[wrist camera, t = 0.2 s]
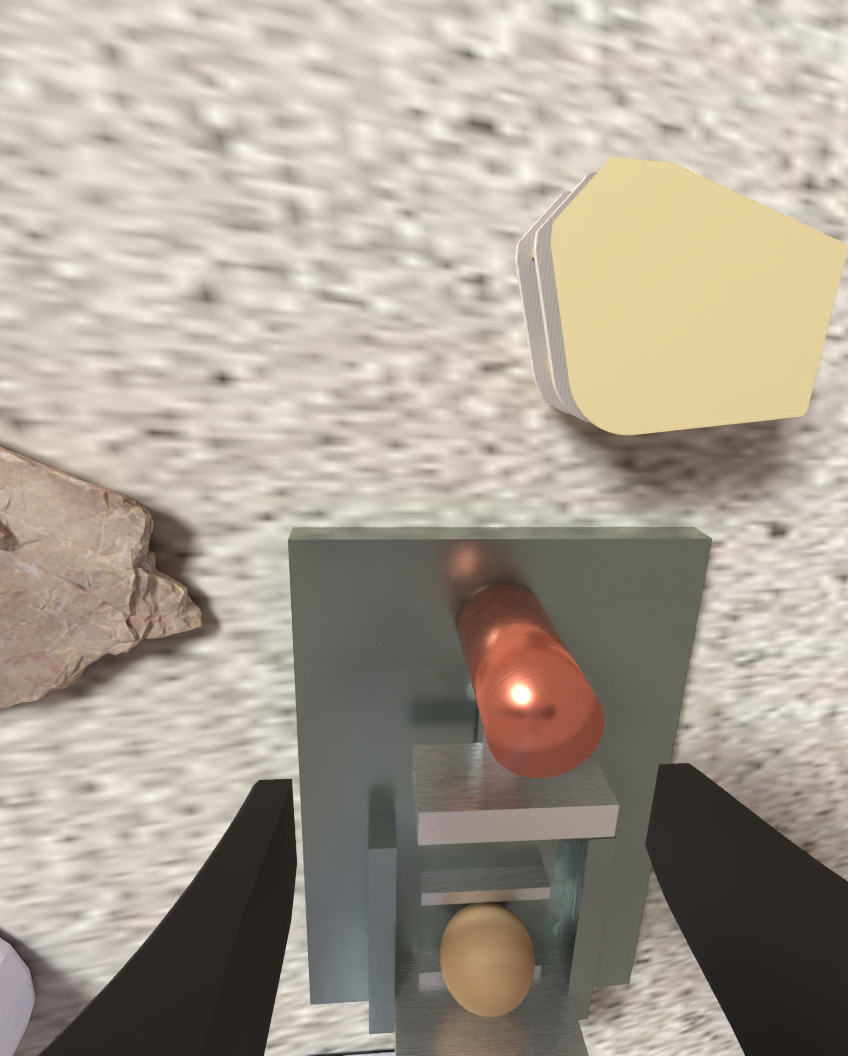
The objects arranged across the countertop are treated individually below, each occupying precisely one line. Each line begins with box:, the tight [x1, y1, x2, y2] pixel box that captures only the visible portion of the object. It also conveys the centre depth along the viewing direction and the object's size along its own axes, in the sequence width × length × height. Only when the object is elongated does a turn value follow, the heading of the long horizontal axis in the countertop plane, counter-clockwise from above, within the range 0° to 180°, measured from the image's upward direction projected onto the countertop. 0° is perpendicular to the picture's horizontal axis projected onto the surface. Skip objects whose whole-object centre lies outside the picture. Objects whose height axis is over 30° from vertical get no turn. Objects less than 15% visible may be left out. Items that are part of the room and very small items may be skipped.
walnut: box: [440, 902, 535, 1017], centre depth 23 cm, size 4×4×4 cm
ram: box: [412, 585, 619, 845], centre depth 18 cm, size 7×6×6 cm
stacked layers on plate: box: [515, 158, 847, 435], centre depth 17 cm, size 10×9×6 cm
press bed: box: [288, 527, 712, 1056], centre depth 21 cm, size 21×14×6 cm, turn 179°
